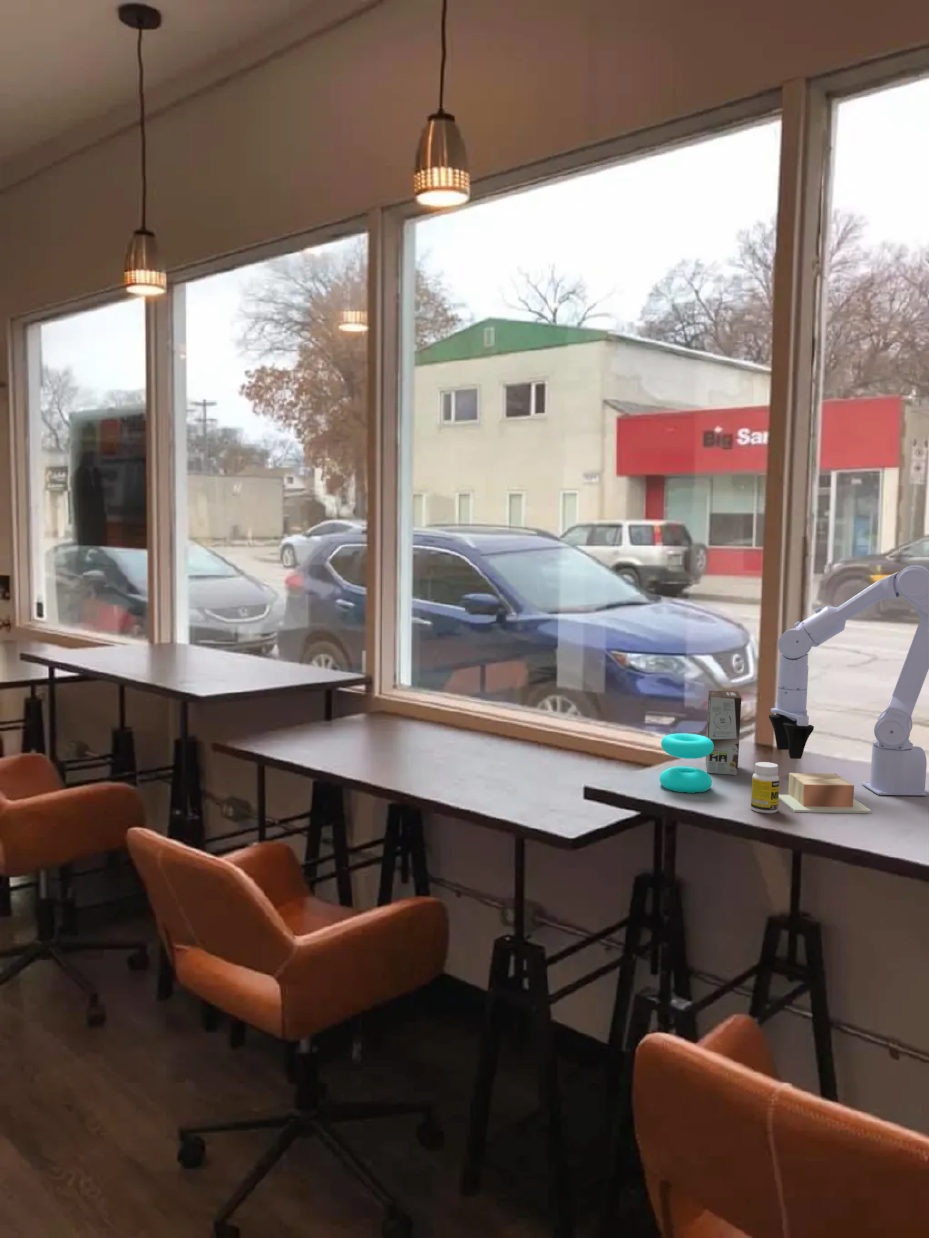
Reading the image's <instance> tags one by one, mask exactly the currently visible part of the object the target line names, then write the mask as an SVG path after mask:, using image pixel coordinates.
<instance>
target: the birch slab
mask: <svg viewBox="0 0 929 1238" xmlns="http://www.w3.org/2000/svg"><path fill="white" fill-rule="evenodd" d="M854 791H855V785H854V784H852V783H851V782H850V781H848V780H847V779H845V778H844V777H842V776H841V775H839V774H837V773H827V772H826V773H824V772H823V773H822V772H821V773H819V772H817V773H816V772H815V773H812V772H810V773H808V772H788V790H787V795H790V796H792V797H793V798H794V799H795V800H797V801H798V802H799V803H800V804H801V805H803V806H811V807H853V798H854Z"/></svg>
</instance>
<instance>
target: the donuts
mask: <svg viewBox="0 0 929 1238" xmlns="http://www.w3.org/2000/svg"><path fill="white" fill-rule="evenodd" d="M660 746H661V748H662V750H663V752H665V753H666V754H667V755H669V756H671V757H674V758H679V759H687V760H688V759H690V760H696V759H703V758H706V756H708V755H709V754H710V753H711V752H712V751H713V748H714V745H713V742H712V741H711V740H710V739H709V738H707V736H705V735H702V734H701V735H700V734H696V733H687V732H685V733H683V732H682V733H681V732H680V733H679V732H678V733H670V734H667V735H665V736H663V737H662V739H661V741H660ZM659 782H660V785H662V786H663V787H664V788H665V789H666V790H670V791H672V790H673V792H676V791H678V792H677V793H683V792H687V793H686V794H696V793H695V792H699V793H703V791H704V792H706V791H708V790H709V789H710V788H711V787H712V784H713V779H712V776H711V775H710V773H707V771H704V770H703V769H701V768H699V767H692V766H672V767H669V768H667V769H665V770H664V771H662V772H661V773H660V776H659Z"/></svg>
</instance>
